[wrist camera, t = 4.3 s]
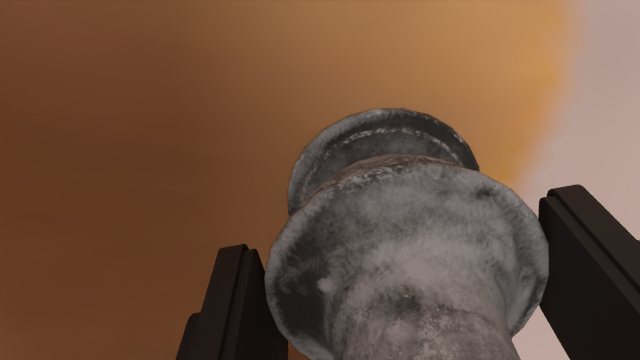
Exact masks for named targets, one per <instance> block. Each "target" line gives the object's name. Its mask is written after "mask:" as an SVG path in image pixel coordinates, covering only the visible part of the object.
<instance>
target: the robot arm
mask: <svg viewBox="0 0 640 360" xmlns="http://www.w3.org/2000/svg"><path fill="white" fill-rule="evenodd" d="M538 220H539V222H540V225H541V227H542V229H543V232H544V234H545V236H546V239H547V241H548V243H549V276H548V280H547V284H546V287H545V290H544V293H543V296H542V300H541V302H540V303H539V306H540V308H541V310H542V312H543V313H544V315H545V317H546V319H547V321H548V322H549V324H550V326H551V327H552V329H553V331H554V333H555V334H556V336H557V338H558V340H559V341H560V343H561V345H562V346H563V348H564V350H565V351H566V353H567V355H568V357H569V358H570V360H640V241H639V240H636V239H635V238H634V237H633V236H632V235H631V234H630V233H629V232H628V231H627V230H626V229H625V228H624V227H623V226H622V225H621V224H620V223H619V222H618V221H617V220H616V219H615V218H614V217H613V216H612V215H611V214H610V213H609V212H608V211H607V210H606V209H605V208H604V207H603V206H602V205H601V204H600V203H599V202H598V201H597V200H596V199H595V198H594V197H593V196H592V195H591V194H590V193H589V192H588V191H587V190H586V189H585V188H584V187H583V186H581V185H571V186H566V187H560V188H555V189H551V190H549V191H548V193H547V197H544V198H541V199H540V201H539V218H538ZM264 275H265V271H264V268H263V265H262V262H261V259H260V257H259V254H258V251H257V250H256V249H250V250H249V248H248V246H247V245H246V244H241V245H235V246H230V247H224V248H221V249H219V251H218V254H217V258H216V261H215V265H214V268H213V272H212V275H211V279H210V282H209V286H208V289H207V292H206V296H205V299H204V303H203V306H202V310H201V312H199V313H193V314H192V315H191V316H190V318H189V320H188V322H187V325H186V328H185V331H184V334H183V338H182V341H181V344H180V347H179V350H178V354H177V357H176V360H288V340H287V339H286V338H285V337H284V335H283V334H282V333H281V332H280V331H279V330H278V328H277V326H276V324H275V321H274V319H273V316H272V314H271V312H270V309H269V307H268V303H267V299H266V292H265V281H264Z"/></svg>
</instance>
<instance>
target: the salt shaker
mask: <svg viewBox="0 0 640 360" xmlns="http://www.w3.org/2000/svg"><path fill="white" fill-rule="evenodd" d="M287 196H288V213H289V216H290V218H289V219H288V221H287V222H286V224H285V226H284V227H283V229H282V230H281V232H280V233H279V235H278V237H277V238H276V240H275V241H274V243H273V244H272V247H271V251H270V255H269V259H268V263H267V267H266V271H265V275H264V281H265V292H266V299H267V303H268V307H269V309H270V312H271V314H272V316H273V319H274V321H275V324H276V326H277V328H278V330H279V331H280V332H281V333H282V334H283V335H284V337H285V338H286V339H287V340H288V341H289V342H290V343H291V344H292V345H293V346H294V347H295V349H296V350H298V351H299V352H300V353H302V354H304V355H305V356H307V357H308V358H310V359H311V360H520V358H519V355H518V353H517V351H516V349H515V347H514V345H513V343H512V340H511V338H512V337H513V336H514V335H515V334H517V333H518V332H519V331H520V330H521V329H522V328H523V327H524V326H525V324H526V323H527V321H528V320H529V318H530V317H531V315H532V314H533V312H534V311H535V309H536V308H537V306H538V305H539V303H540V302H541V300H542V296H543V293H544V290H545V287H546V284H547V280H548V276H549V243H548V241H547V239H546V236H545V234H544V232H543V229H542V227H541V225H540V222H539V220H538V218H537V216H536V214H535V213H534V212H533V211H532V210H531V209H530V208H529V207H528V206H527V205H526V204H525V203H524V201H523V200H522V199H521V198H520V197H519V196H518V195H517V194H516V193H515V192H514V191H513V190H512V189H511V188H509V187H507V186H505V185H503V184H501V183H499V182H498V181H496V180H494V179H492V178H490V177H488V176H487V175H485V174H483V173H481V172H480V170H479V166H478V164H477V162H476V159H475V157H474V155H473V153H472V151H471V149H470V147H469V145H468V144H467V143H466V142H465V141H464V140H463V139H462V138H461V137H460V136H459V135H458V134H457V132H456V131H455V130H454V129H453V128H452V127H450V126H448V125H447V124H445V123H443V122H441V121H439V120H438V119H436V118H434V117H432V116H431V115H428V114H424V113H420V112H416V111H412V110H407V109H403V108H401V109H373V110H369V111H366V112H362V113H358V114H354V115H350V116H347V117H346V118H344V119H342V120H340V121H338V122H337V123H335V124H333V125H331V126H329V127H327V128H326V129H324V130H323V131H322V132H321V133H320V134H319V135H318V136H317V137H316V138H315V139H313V140H312V141H311V142H310V143H309V144H308V145H307V146H306V147H305V149H304V150H303V152H302V154H301V155H300V157H299V159H298V160H297V162H296V164H295V165H294V167H293V170H292V174H291V178H290V182H289V185H288V189H287Z"/></svg>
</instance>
